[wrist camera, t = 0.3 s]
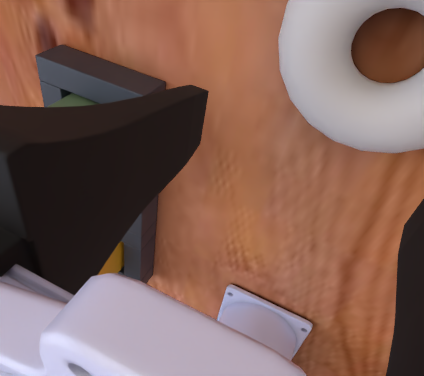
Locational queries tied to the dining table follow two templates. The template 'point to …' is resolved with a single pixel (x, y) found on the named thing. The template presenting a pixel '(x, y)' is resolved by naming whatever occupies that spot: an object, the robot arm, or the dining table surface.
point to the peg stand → (102, 93)
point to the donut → (347, 77)
